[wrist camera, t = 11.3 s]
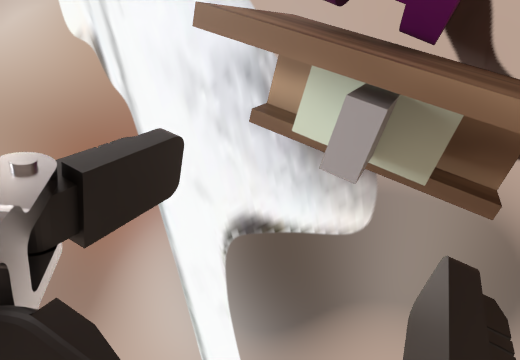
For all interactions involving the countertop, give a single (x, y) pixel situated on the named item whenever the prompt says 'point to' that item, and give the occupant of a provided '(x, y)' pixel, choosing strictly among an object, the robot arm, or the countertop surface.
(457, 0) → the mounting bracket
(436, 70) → the wooden tablet stand
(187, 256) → the countertop surface
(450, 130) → the tab block
